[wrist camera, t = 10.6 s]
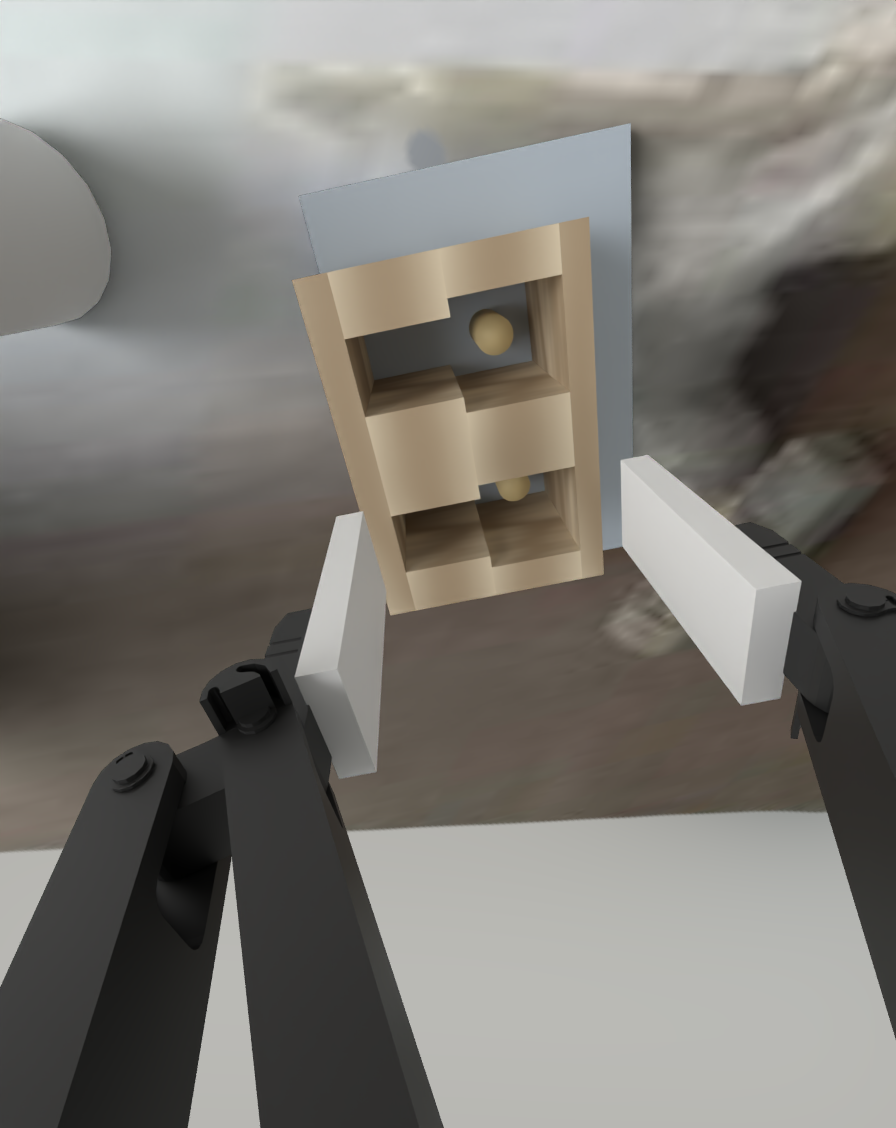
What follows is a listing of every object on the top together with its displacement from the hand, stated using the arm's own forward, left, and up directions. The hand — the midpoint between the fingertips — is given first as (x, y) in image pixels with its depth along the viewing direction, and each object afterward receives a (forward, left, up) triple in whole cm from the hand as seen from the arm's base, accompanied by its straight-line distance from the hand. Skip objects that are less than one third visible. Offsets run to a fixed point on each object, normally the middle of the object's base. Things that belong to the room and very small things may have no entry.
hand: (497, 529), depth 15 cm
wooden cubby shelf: (0, 0, -14) cm, 14 cm away
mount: (+2, 0, -15) cm, 15 cm away
